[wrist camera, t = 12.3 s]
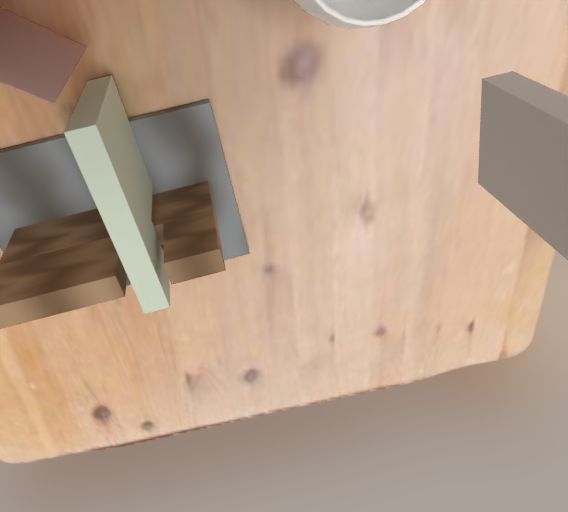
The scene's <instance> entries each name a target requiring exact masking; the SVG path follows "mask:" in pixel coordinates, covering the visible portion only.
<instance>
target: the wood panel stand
mask: <svg viewBox="0 0 568 512" xmlns="http://www.w3.org/2000/svg"><path fill="white" fill-rule="evenodd" d="M128 120H129V123H130V126H131V128H132V131H133V134H134V137H135V139H136V142H137V145H138V148H139V150H140V153H141V156H142V159H143V161H144V164H145V167H146V169H147V172H148V175H149V178H150V180H151V183H152V186H153V193H152V216H151V220H152V223H153V225H154V228H155V231H156V233H157V236H158V239H159V241H160V244H161V246H162V245H164V266H165V268H166V271H167V274H168V276H169V279H170V281H171V284H175V283H179V282H183V281H187V280H191V279H194V278H198V277H202V276H206V275H210V274H214V273H217V272H221V271H225V270H226V269H225V264H224V260H227V259H231V258H235V257H239V256H242V255H246V254H250V253H249V249H248V245H247V241H246V237H245V234H244V230H243V226H242V222H241V219H240V215H239V211H238V207H237V203H236V200H235V196H234V192H233V188H232V185H231V181H230V177H229V173H228V169H227V166H226V162H225V158H224V154H223V151H222V147H221V143H220V139H219V135H218V132H217V128H216V124H215V120H214V117H213V113H212V109H211V105H210V101H209V99H207V100H203V101H199V102H194V103H190V104H186V105H182V106H178V107H174V108H169V109H165V110H161V111H157V112H153V113H149V114H145V115H140V116H136V117H132V118H128ZM0 247H1V249H2V250H3V252H4V253H3V255H2V257H1V260H0V329H2V328H6V327H10V326H14V325H18V324H21V323H25V322H29V321H33V320H37V319H41V318H44V317H48V316H52V315H56V314H60V313H64V312H67V311H71V310H75V309H79V308H83V307H87V306H91V305H94V304H98V303H102V302H106V301H110V300H114V299H117V298H121V297H125V290H126V286H127V285H130V284H131V282H130V280H129V278H128V276H127V273H126V271H125V269H124V267H123V264H122V262H121V260H120V258H119V255H118V253H117V251H116V249H115V246H114V244H113V242H112V240H111V238H110V235H109V233H108V231H107V229H106V226H105V224H104V222H103V220H102V217H101V215H100V213H99V211H98V208H97V206H96V204H95V202H94V199H93V197H92V195H91V193H90V190H89V188H88V186H87V184H86V181H85V179H84V177H83V175H82V172H81V170H80V168H79V166H78V164H77V161H76V159H75V157H74V155H73V152H72V150H71V148H70V146H69V143H68V141H67V139H66V137H65V134H61V135H57V136H53V137H49V138H45V139H41V140H37V141H32V142H28V143H24V144H20V145H16V146H12V147H8V148H3V149H0Z"/></svg>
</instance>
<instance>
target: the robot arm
mask: <svg viewBox="0 0 568 512" xmlns="http://www.w3.org/2000/svg"><path fill="white" fill-rule="evenodd" d="M478 183H479V184H480V185H481V186H482V187H483V188H485V189H486V190H487V191H488V192H489V193H490V194H491V195H493V196H494V197H495V198H496V199H497V200H498V201H500V202H501V203H502V204H503V205H504V206H505V207H507V208H508V209H509V210H510V211H511V212H512V213H514V214H515V215H516V216H517V217H518V218H519V219H521V220H522V221H523V222H524V223H525V224H526V225H527V226H529V227H530V228H531V229H532V230H533V231H534V232H536V233H537V234H538V235H539V236H540V237H541V238H543V239H544V240H545V241H546V242H547V243H548V244H550V245H551V246H552V247H553V248H554V249H555V250H557V251H558V252H559V253H560V254H561V255H562V256H563V257H565V258H566V259H567V260H568V96H566V95H564V94H562V93H560V92H557V91H555V90H553V89H551V88H549V87H546V86H544V85H542V84H540V83H538V82H535V81H533V80H531V79H529V78H527V77H524V76H522V75H520V74H518V73H516V72H513V71H512V72H508V73H504V74H500V75H496V76H492V77H488V78H484V79H482V96H481V121H480V147H479V172H478Z"/></svg>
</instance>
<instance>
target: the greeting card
mask: <svg viewBox="0 0 568 512" xmlns="http://www.w3.org/2000/svg"><path fill="white" fill-rule="evenodd" d="M85 49H86V46H83V45H81V44H79V43H77V42H75V41H72V40H70V39H68V38H66V37H64V36H62V35H59V34H57V33H55V32H53V31H51V30H49V29H46V28H44V27H42V26H40V25H38V24H36V23H33V22H31V21H29V20H27V19H25V18H23V17H20V16H18V15H16V14H14V13H12V12H10V11H7V10H5V9H3V8H1V7H0V83H3V84H5V85H8V86H10V87H13V88H15V89H17V90H20V91H22V92H25V93H27V94H30V95H32V96H35V97H37V98H40V99H42V100H44V101H47V102H49V103H52V104H54V103H55V101H56V99H57V98H58V96H59V94H60V92H61V91H62V89H63V87H64V85H65V84H66V82H67V80H68V78H69V77H70V75H71V73H72V72H73V70H74V68H75V66H76V65H77V63H78V61H79V59H80V58H81V56H82V54H83V52H84V51H85Z"/></svg>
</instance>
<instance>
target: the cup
mask: <svg viewBox="0 0 568 512" xmlns="http://www.w3.org/2000/svg"><path fill="white" fill-rule="evenodd" d="M294 1H295V2H296V3H297V4H298V5H299V6H300V7H301V8H302V9H303V10H304V11H306V12H307V13H308V14H310V15H312V16H314V17H315V18H317V19H319V20H321V21H323V22H324V23H326V24H328V25H332V26H337V27H342V28H347V29H356V28H367V27H374V26H379V25H384V24H387V23H389V22H392V21H395V20H397V19H400V18H402V17H404V16H406V15H407V14H409V13H410V12H411V11H413V10H414V9H416V8H417V7H419V6H420V5H421V4H423V2H424V1H425V0H294Z"/></svg>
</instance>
